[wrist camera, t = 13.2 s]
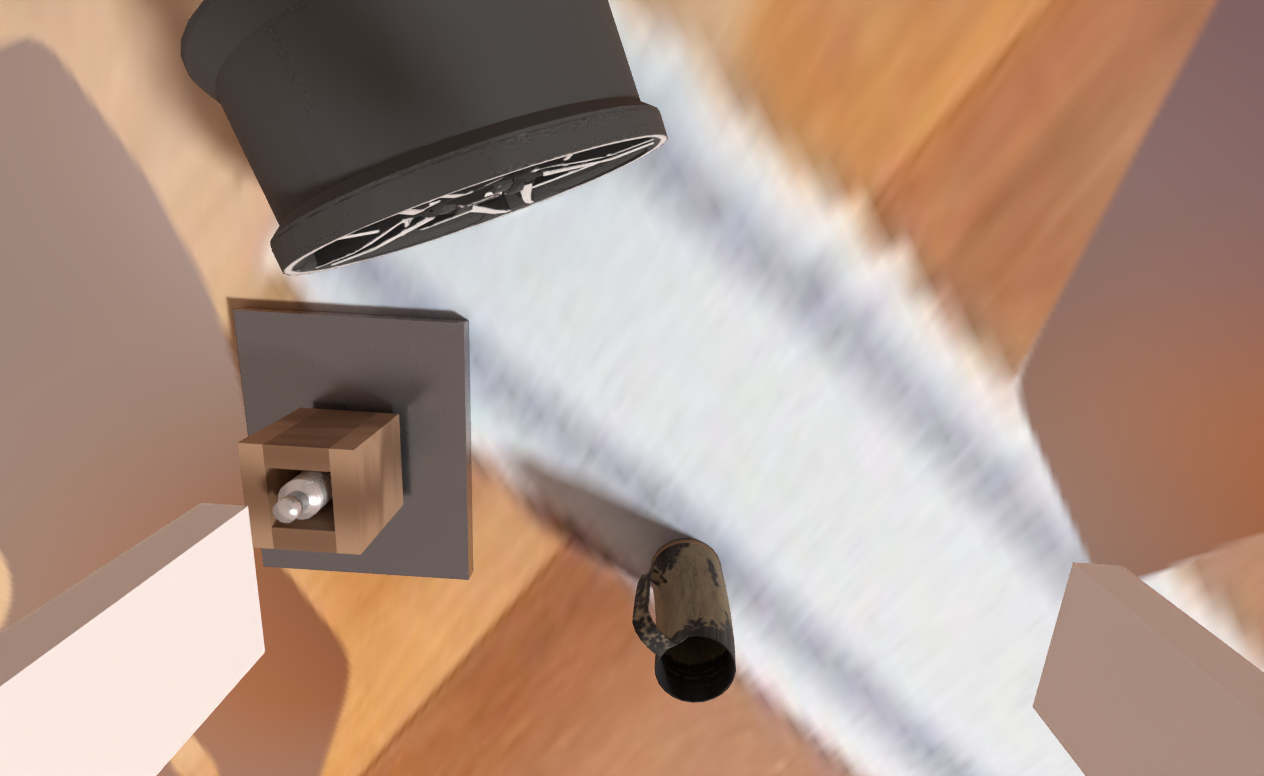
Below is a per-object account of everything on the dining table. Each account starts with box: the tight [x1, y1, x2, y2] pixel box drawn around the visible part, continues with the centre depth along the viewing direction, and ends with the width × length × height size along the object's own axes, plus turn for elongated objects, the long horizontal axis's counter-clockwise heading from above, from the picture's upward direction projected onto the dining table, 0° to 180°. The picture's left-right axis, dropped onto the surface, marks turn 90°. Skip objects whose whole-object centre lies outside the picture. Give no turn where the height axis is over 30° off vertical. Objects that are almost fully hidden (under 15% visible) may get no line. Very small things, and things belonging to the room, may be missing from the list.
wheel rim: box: [181, 0, 668, 275], centre depth 31 cm, size 20×9×20 cm, turn 110°
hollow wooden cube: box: [238, 408, 403, 555], centre depth 42 cm, size 7×7×7 cm
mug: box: [632, 539, 736, 703], centre depth 43 cm, size 8×6×12 cm
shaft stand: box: [233, 307, 473, 580], centre depth 42 cm, size 20×16×11 cm
